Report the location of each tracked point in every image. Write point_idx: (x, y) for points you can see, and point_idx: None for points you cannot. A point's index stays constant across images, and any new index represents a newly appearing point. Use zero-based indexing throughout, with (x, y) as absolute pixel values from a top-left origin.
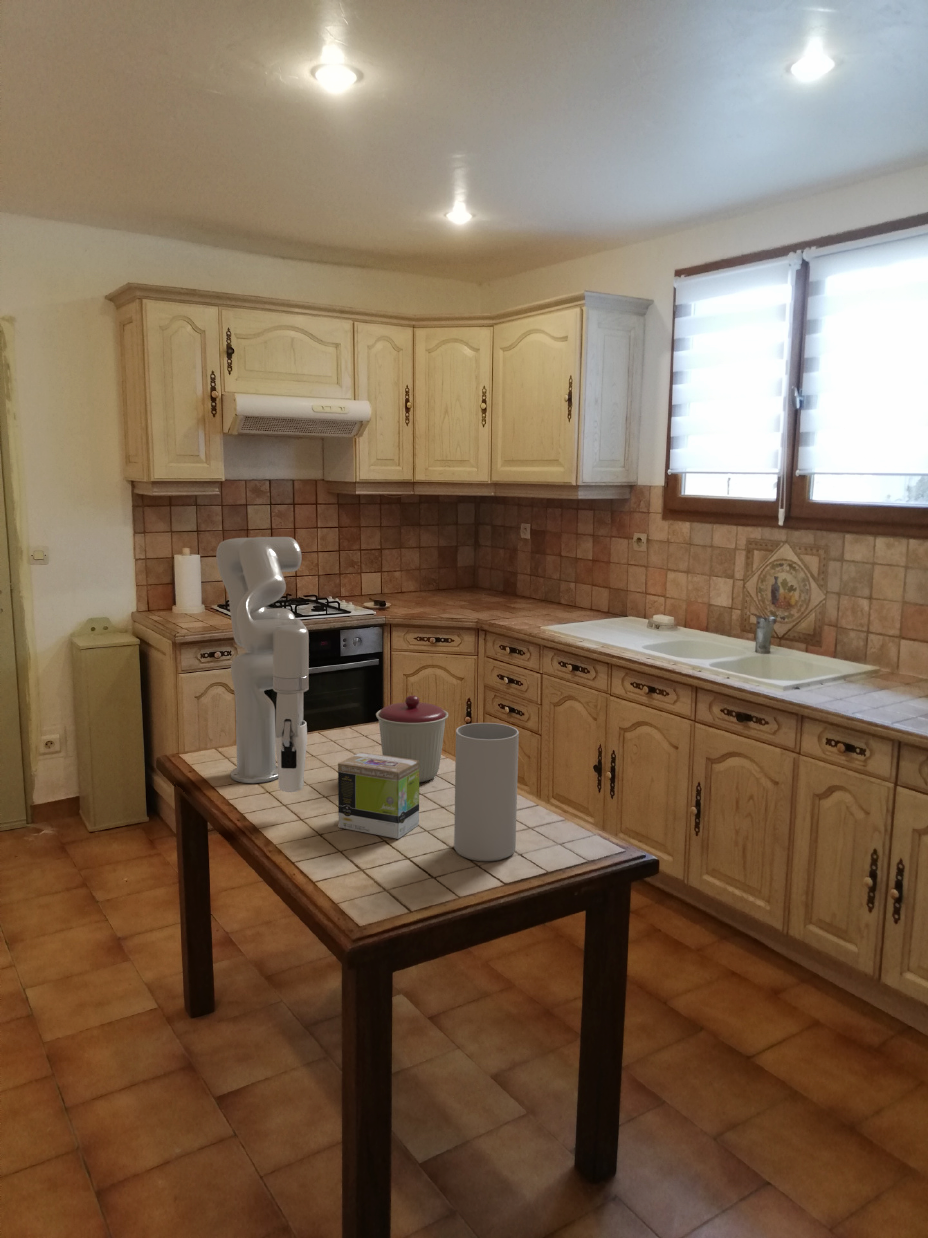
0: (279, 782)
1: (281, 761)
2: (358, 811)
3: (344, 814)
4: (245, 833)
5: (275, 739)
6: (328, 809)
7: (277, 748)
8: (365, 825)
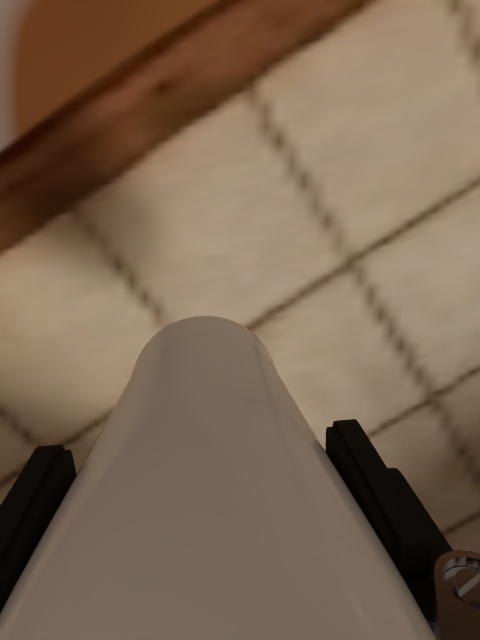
0: (162, 339)
1: (17, 485)
2: None
3: None
4: (3, 161)
5: (105, 578)
6: None
7: (70, 513)
8: None
